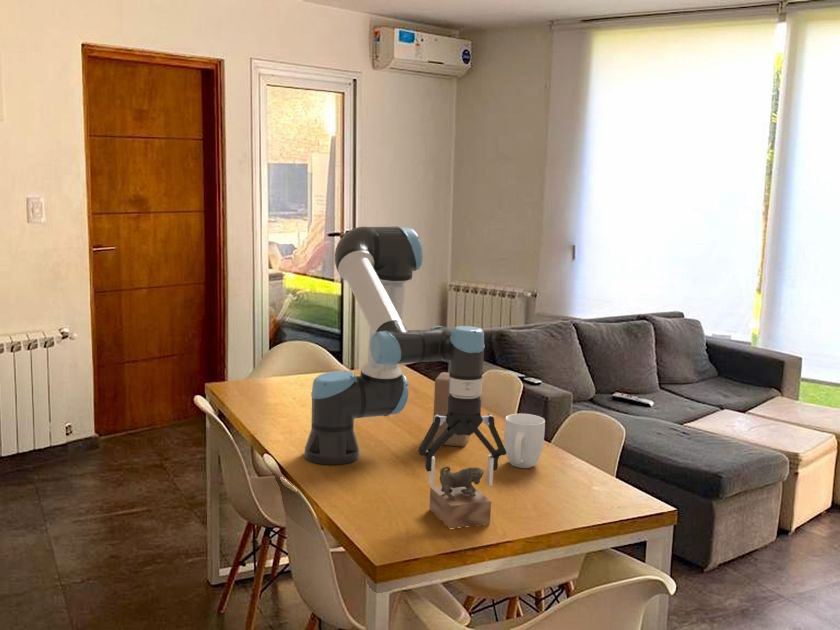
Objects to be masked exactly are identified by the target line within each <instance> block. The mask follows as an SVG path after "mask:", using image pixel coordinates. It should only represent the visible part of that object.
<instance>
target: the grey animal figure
mask: <svg viewBox="0 0 840 630" xmlns="http://www.w3.org/2000/svg"><path fill="white" fill-rule="evenodd" d="M439 473H440V474H439V482H440V486H442V489H441V491H442V492H444V493H445V494H446V495H447V496H448V497H449V498H450V499H451V500H452V501H455V498H454V497H453V496H452V495H451V494H450V492H452V491H453V490H452V489H450V488H451V487H452V488H457V487H466V488H467V489H462V490H461V492H462V493H464V494H467V495H471V496H475V495H476V494H475V486H473V485H472V484H474V485H479V484H480V483H481V479H482V478H483V475H484V469H481V468H480V467H467V468H464V469H461V470H459V471H457V472H452V471H451V467H450V466H443V467H442V468H441V469H440V471H439Z"/></svg>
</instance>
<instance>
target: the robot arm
mask: <svg viewBox="0 0 840 630" xmlns="http://www.w3.org/2000/svg"><path fill="white" fill-rule="evenodd" d="M422 246H423V245H422V242H421V240H420V236H419V235H418V233H417V232H416V231H415V230H414V229H413V228H412V227H404V226H403V227H402V226H357V227H355V228H352V229H350V230H349V231H347V232H346V233H344V235H343V236H342V237H341V238H340V239H339V241H338V243H337V245H336V248H335V250H334V265H335V268H336V270H337V272H338V275H339V277H340V278H341V279H342V280H344V281H346V282H347V284H348V286H349V288H350V290H351V292H352V294H353V296H354V298H355V300H356V302H357V304H358V307H359V308H360V310H361V313H362V314H363V316H364V319H365V321H366V322H367V325H368V327H369V336H368V337H369V338H368V346H367V347H368V349H367V361H366V363H365V364H363V365H362V366H361V368H360V375H358V376H357V375H355V373H354V372H352V371H349V370H334V371H328V372H325V373H322V374H319V375H318V376H316V377H315V378H314V379H313V381H312V387H311V394H310V395H311V426H310V427H311V428H310V432H309V435H308V438H307V441H306V443H305V446H304V458H305V459H306V460H308V461H309V462H311V463H315V464H319V465H329V466H330V465H331V466H333V465H338V466H339V465H344V464H349V463H353V462H356V461H357V460H358V459H359V457H360V447H359V444H358V440H357V436H356V434H355V430H354V424H355V423H354V422H355V419H363V418H375V417H376V418H377V417H389V416H391V415H392V416H393V415H397V414H400V412H402V411H403V409H404V408H405V407H406V405H407V401H408V398H409V387H408V385H409V383H408V379H407V377H406V376H405V375H404V374H403V370H402V369H401V368H400V367H399V365H400V364H402V365H403V364H411V363H428V362H430V363H431V362H445V363H448V364H449V372H448V373H449V393H450V395H449V396H448V413H447V415H446V416H439V415H438V414H435V415H434V414H433V416H434V417H433V416H432V417H433V418H432V423H431V425H430V427H429V429H428V431H427V432H426V435H425V436H424V438H423V439H422V441H421V443H420V445H419V447H418V448H417V452H418V454H419V456H420V457H425V464H424V465H425V467H424V468H425V470H426V472H429V476H428V477H429V478H428V483H429V485H430V487H435V479H436V478H435V474H436V458H435V456H434V455H435V454H436V453H437V452H438V451H439V450H440V449H441V448H442V447H443V446H445V445H444V443H445V442H446V441H447V440H448V439H449V438H451V437H452V436H453V435H454V434H456V435H470V436H472V435H473V434H475V435H476V437H477V438H478V439H479V441H480V442H481V443H482V444H483V445H484V447H485V448H486V449H487V450H488V451H489V453H490V454H487V468H486V470H487V471H486V482H487V485H488V486H489V487H490V486H493V481H494V480H493V479H494V471H497V470H498V468H499V467H498V463H499V458H500V457H501V456H505V455H506V456H507V454H506V450H505V445H504V444H503V441H502V439H501V437H500V435H499V433H498V430H497V428H496V425H495V418H494V416H493V415H492V414H491V413H487V414H486V415H482V414H481V412H482V410H481V409H482V397H481V395H482V390H483V389H482V388H483V375H484V374H483V371H484V356H485V355H484V354H485V348H486V347H485V332H484V330H483V329H482V328H480V327H478V326H470V325H458V326H457V325H456V326H455V327H453V328H450V327H448V326H440V325H435V326H432V327H431V328H429V329H413V330H408V329H407V328H406V326H405V324H404V322H403V317H404V306H405V305H404V304H405V297H406V296H405V295H406V285H407V284H408V283H409V282H410V281H411V280H412V279H413V273H414V272H416V271H418V270H419V269H420V268H421V266H422V265H423V258H424V255H423V254H424V251H423V247H422ZM443 422H446V423H447V424H448V427H447V428H446V429H445V430H444V432H443V433H442V434H441V435H440V436H439V438H438V439H437V440H436V441H435V442H434V443H433V441H432V440H433V438H434V436H435V434H436V432H437V431H438V429H439V426H440V425H442V424H443ZM482 423H484V424H485V425H486V426H487V427H488V429H489V432H490V433H491V436H492V437H493V441H494V443H495V444H496V446H497V449H495V448H494V446H493V445H492V444H491V442H490V441H489V440H488V439H487V438H486V436H485V435H484V434H483V433H482V432H481V430H480V429H479V427H480V425H482ZM431 443H432V444H431Z"/></svg>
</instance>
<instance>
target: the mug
mask: <svg viewBox="0 0 840 630" xmlns="http://www.w3.org/2000/svg"><path fill="white" fill-rule="evenodd" d="M545 429H546V420H545V418H544V417H541V416H539V415H535V414H532V413H531V414H530V413H513V414H512V413H511V414H509V415H506V416H505V420H504V433H503V434H504V435H503V437H504V438H503V439H504V448H505V450H506V457H507V460H508V462H509V463H510V465H511V466H514V467H515V468H519V469H531V468H533V467H535V465H536V464H537V463H538V461H539V460H540V458H541V455H542V451H543V447H544V441H545V431H546V430H545Z"/></svg>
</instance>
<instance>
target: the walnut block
mask: <svg viewBox="0 0 840 630" xmlns="http://www.w3.org/2000/svg"><path fill="white" fill-rule="evenodd" d="M474 488H475V487H474ZM441 489H442V485H438V486H430V489H429V490H430V491H429V509H430V510H431V511H432V512H433V513H434V514H435V515H436V516H437V517H438V518H439V519H440V520H442V521H443V522H444V523H445V524H446V525H447V526H448V527H449V528H458V527H466V526H475V527H477V526H476V525H483V526H485V525H484V524H490V525H491V514H492V513H491V509H492V500H491V499H489V498H488V497H487V496H486V495H484V494H483V493H482V492H481V491H479V490H478V489H477V488H475V494H476V495H475V496H471V495H467V494H464V493H462V492H461V490H462V489H467V488H466V487H457V488H452V487H451V488H450V489H452V490H453V491H452V492H450V494H451V495H452V496H453V497H454V498H455V501H452V500H451V499H450V498H449V497H448V496H447V495H446V494H445V493H444V492H442V491H441ZM430 510H429V511H430ZM431 511H430V512H431ZM432 512H431V513H432ZM433 513H432V514H433ZM434 514H433V515H434ZM435 515H434V516H435ZM436 516H435V517H436ZM437 517H436V518H437ZM438 518H437V519H438ZM439 519H438V520H439ZM440 520H439V521H440ZM444 523H443V524H444ZM445 524H444V525H445ZM446 525H445V526H446ZM447 526H446V527H447ZM448 527H447V528H448ZM449 528H448V529H449Z"/></svg>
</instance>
